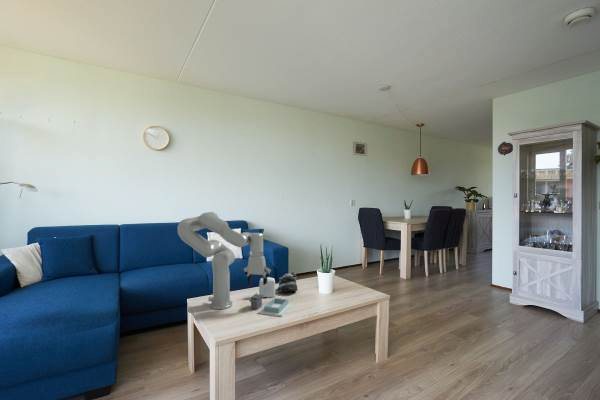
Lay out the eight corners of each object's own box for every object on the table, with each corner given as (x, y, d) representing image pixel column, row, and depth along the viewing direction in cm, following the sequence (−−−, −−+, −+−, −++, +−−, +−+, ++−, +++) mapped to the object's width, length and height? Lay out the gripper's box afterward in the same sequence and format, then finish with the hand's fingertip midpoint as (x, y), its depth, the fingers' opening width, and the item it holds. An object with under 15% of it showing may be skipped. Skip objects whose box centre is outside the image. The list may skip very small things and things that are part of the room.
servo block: (249, 310, 164) (249, 296, 164) (257, 304, 173) (257, 291, 173) (255, 311, 163) (255, 297, 163) (263, 305, 172) (263, 291, 172)
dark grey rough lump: (273, 293, 193) (273, 272, 199) (283, 295, 202) (282, 275, 209) (292, 290, 186) (291, 268, 193) (301, 292, 196) (300, 272, 202)
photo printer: (274, 295, 189) (275, 276, 189) (275, 297, 185) (275, 278, 185) (259, 295, 188) (259, 276, 188) (259, 298, 184) (259, 278, 184)
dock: (258, 313, 160) (258, 307, 160) (272, 302, 177) (272, 296, 177) (282, 316, 155) (282, 310, 155) (293, 305, 172) (293, 299, 172)
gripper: (240, 254, 167) (241, 284, 167) (267, 256, 161) (268, 286, 161) (246, 252, 174) (247, 280, 174) (273, 253, 168) (273, 282, 168)
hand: (257, 283), depth 168 cm, fingers open, 9 cm apart
